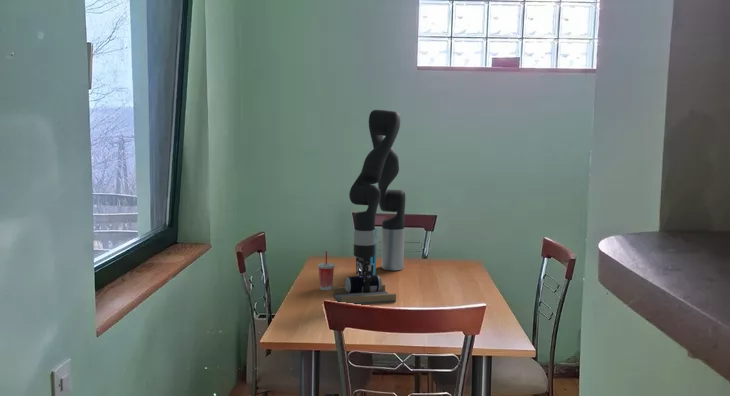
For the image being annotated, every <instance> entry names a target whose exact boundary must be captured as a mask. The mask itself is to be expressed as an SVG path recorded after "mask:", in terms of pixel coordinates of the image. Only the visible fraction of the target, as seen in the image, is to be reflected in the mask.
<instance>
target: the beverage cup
mask: <svg viewBox="0 0 730 396" xmlns="http://www.w3.org/2000/svg"><path fill="white" fill-rule="evenodd" d="M317 267H318V276H319V277H318V279H319V290H321V291H331V290H333V288H334V287H333V286H334V285H333V284H334V273H335V272H334V270H335V269H334V268H335V263H331V262H328V251H327V250H326V251H325V262H321V263H318V264H317Z"/></svg>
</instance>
